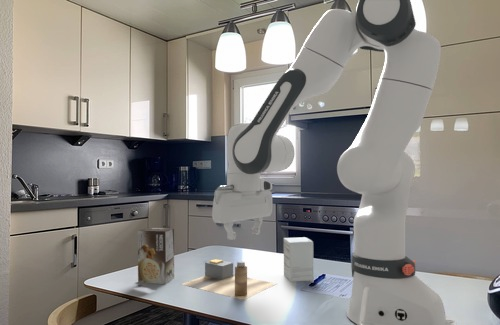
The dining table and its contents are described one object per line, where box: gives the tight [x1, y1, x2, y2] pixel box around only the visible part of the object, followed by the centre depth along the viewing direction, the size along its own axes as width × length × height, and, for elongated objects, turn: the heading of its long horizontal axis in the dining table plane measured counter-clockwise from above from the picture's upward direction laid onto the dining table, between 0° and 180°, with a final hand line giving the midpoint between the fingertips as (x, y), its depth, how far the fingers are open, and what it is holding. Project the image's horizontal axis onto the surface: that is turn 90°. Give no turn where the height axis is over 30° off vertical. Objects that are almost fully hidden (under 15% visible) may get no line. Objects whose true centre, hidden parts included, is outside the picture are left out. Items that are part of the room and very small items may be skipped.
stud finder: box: [204, 258, 234, 280], centre depth 113 cm, size 7×5×4 cm
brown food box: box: [137, 227, 175, 287], centre depth 110 cm, size 9×6×16 cm
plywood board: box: [180, 274, 277, 301], centre depth 105 cm, size 22×16×1 cm
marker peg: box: [234, 261, 248, 296], centre depth 97 cm, size 3×3×8 cm
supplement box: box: [283, 236, 315, 283], centre depth 112 cm, size 7×7×13 cm
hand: (244, 236), depth 99 cm, fingers open, 8 cm apart
